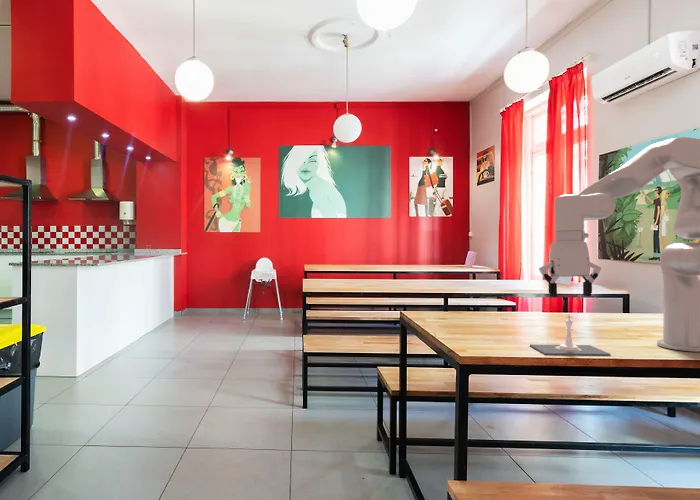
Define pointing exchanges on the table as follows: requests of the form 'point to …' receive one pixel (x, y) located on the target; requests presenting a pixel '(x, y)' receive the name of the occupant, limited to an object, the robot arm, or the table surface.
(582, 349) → the mat
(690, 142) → the robot arm
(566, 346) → the chess piece
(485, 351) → the table surface
